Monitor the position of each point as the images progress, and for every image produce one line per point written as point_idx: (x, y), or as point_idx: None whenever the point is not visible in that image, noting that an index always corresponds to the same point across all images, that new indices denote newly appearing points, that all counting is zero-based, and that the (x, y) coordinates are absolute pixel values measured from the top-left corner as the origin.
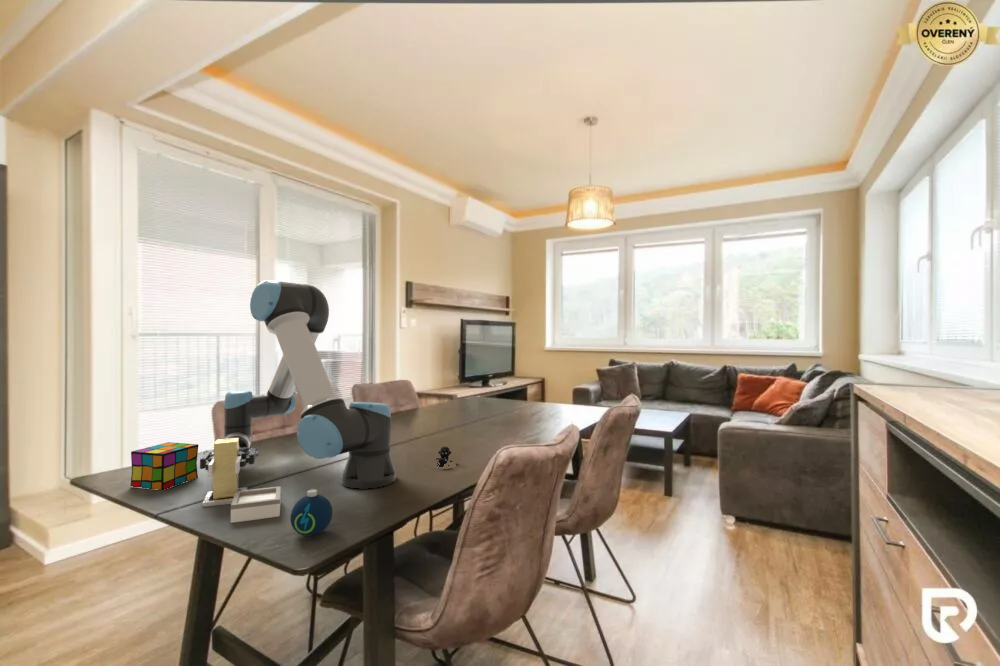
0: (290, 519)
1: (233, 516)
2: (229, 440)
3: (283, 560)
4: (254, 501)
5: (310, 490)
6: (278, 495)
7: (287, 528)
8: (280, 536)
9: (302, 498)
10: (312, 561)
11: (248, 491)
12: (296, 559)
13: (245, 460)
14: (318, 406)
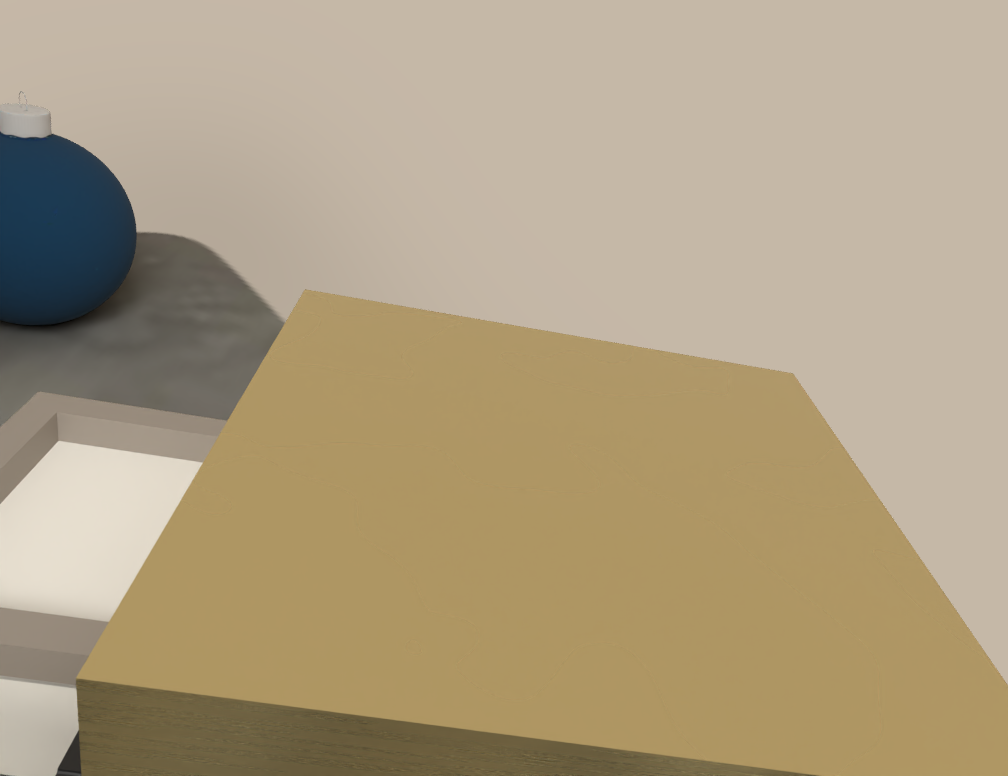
0: (132, 248)
1: None
2: (492, 452)
3: (220, 265)
4: (208, 428)
5: (25, 112)
6: (1, 439)
7: (95, 383)
8: (161, 350)
9: (71, 152)
10: (147, 237)
11: None
12: (183, 255)
13: (58, 771)
14: None
